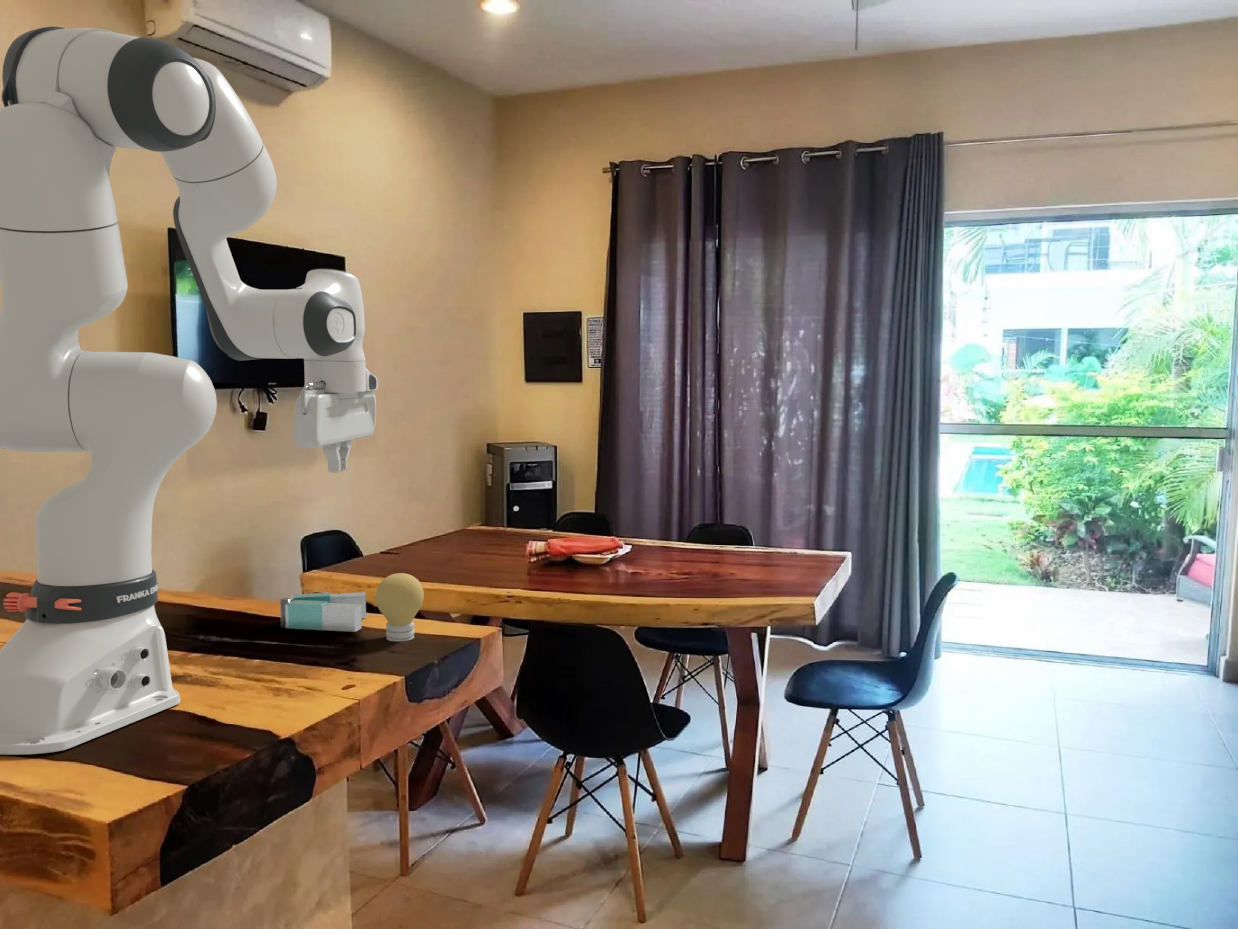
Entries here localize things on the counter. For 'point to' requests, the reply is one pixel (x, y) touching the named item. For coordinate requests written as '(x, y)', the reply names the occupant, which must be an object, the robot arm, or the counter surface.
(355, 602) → the tong arm
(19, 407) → the robot arm
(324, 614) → the tongs fixed arm
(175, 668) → the counter surface
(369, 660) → the counter surface
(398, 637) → the light bulb
